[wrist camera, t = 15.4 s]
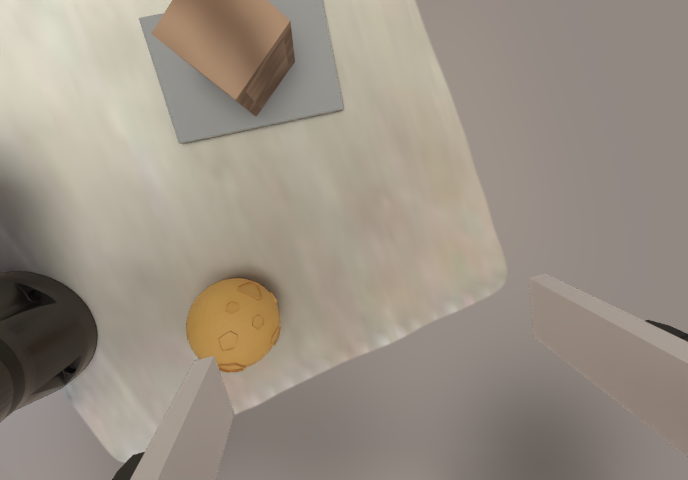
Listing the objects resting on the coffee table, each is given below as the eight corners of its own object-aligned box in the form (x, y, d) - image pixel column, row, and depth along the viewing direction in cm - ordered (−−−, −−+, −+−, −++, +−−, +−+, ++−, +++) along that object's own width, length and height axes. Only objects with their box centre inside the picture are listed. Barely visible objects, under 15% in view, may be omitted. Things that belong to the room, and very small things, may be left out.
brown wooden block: (256, 116, 36) (235, 99, 26) (198, 71, 35) (151, 33, 24) (295, 61, 36) (290, 20, 25) (237, 12, 34) (206, -54, 23)
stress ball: (221, 350, 44) (197, 405, 34) (188, 282, 41) (152, 320, 32) (294, 324, 44) (291, 371, 34) (266, 255, 42) (255, 285, 32)
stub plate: (183, 143, 38) (152, 140, 30) (145, 23, 35) (100, -14, 27) (342, 110, 39) (351, 98, 31) (318, -10, 36) (321, -55, 28)
